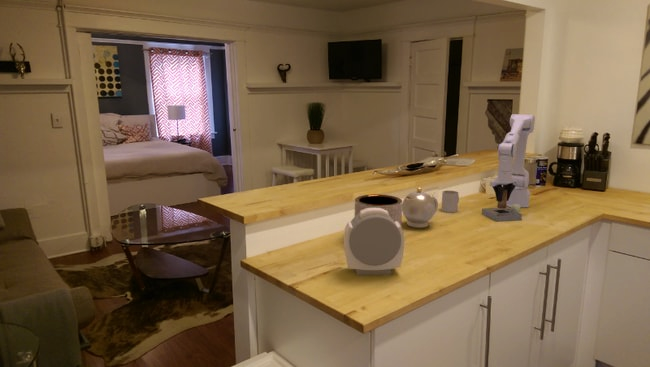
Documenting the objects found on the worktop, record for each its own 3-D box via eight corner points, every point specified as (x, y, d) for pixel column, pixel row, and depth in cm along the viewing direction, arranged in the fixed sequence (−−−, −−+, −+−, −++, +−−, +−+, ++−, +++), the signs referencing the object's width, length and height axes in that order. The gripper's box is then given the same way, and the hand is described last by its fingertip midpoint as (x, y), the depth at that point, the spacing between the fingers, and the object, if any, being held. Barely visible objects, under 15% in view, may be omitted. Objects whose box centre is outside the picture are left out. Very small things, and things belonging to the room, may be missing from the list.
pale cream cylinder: (516, 212, 204) (517, 203, 203) (521, 214, 200) (521, 205, 200) (509, 212, 203) (510, 204, 202) (513, 214, 200) (514, 206, 199)
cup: (438, 210, 207) (439, 192, 205) (451, 207, 213) (452, 189, 211) (451, 213, 201) (452, 194, 199) (464, 210, 207) (465, 191, 205)
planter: (363, 250, 156) (364, 207, 153) (347, 234, 173) (348, 195, 170) (409, 245, 161) (411, 203, 158) (389, 230, 178) (390, 192, 174)
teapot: (414, 233, 174) (416, 192, 171) (393, 224, 186) (394, 186, 182) (448, 226, 183) (450, 187, 180) (425, 218, 195) (427, 181, 191)
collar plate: (505, 212, 203) (506, 207, 203) (521, 220, 192) (522, 214, 191) (481, 213, 201) (482, 208, 201) (496, 221, 190) (496, 215, 189)
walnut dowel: (501, 206, 198) (503, 188, 196) (507, 208, 195) (509, 190, 193) (495, 206, 197) (496, 189, 195) (501, 208, 193) (502, 191, 192)
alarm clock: (398, 265, 143) (401, 205, 138) (404, 276, 134) (406, 212, 130) (343, 266, 142) (343, 205, 138) (345, 277, 134) (346, 213, 130)
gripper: (510, 167, 198) (507, 197, 201) (485, 170, 193) (483, 200, 196) (523, 170, 192) (520, 200, 195) (497, 172, 186) (495, 204, 189)
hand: (502, 200), depth 195 cm, fingers closed on walnut dowel, 4 cm apart
